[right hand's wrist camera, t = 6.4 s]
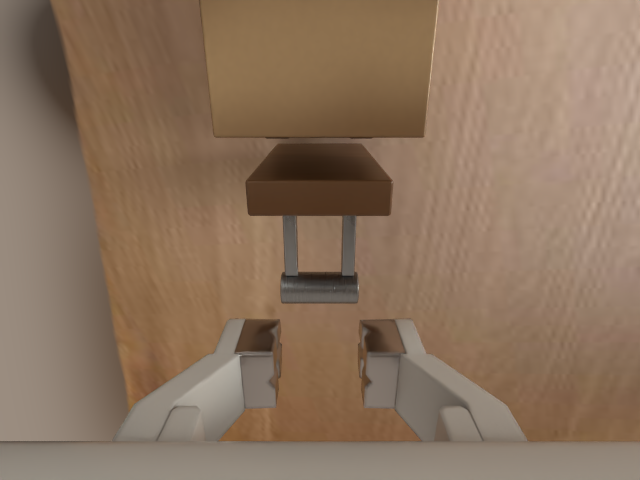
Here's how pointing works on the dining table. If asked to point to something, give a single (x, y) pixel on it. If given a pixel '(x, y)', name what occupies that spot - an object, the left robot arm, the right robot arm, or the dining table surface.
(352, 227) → the drawer
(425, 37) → the cabinet
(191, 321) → the dining table surface
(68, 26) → the dining table surface
